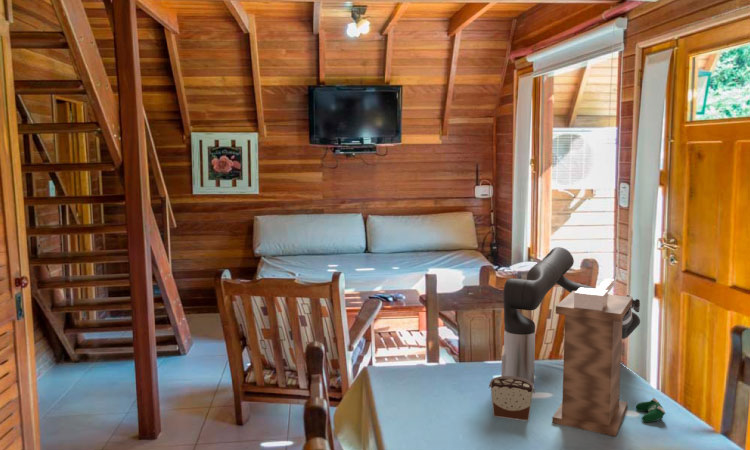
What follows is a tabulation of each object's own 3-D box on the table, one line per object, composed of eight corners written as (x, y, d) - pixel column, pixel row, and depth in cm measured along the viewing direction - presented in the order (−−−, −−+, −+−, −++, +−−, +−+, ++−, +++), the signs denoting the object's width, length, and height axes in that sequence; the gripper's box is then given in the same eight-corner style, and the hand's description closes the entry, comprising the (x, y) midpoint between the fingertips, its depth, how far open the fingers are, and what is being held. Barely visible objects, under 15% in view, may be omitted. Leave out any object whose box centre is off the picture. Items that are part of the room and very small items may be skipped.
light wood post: (573, 307, 157) (574, 292, 157) (597, 284, 184) (597, 271, 184) (602, 311, 154) (602, 295, 153) (621, 286, 181) (622, 273, 180)
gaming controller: (651, 430, 162) (669, 416, 161) (641, 419, 163) (659, 406, 161) (643, 415, 171) (660, 402, 170) (633, 405, 172) (650, 392, 170)
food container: (536, 412, 169) (536, 378, 168) (534, 421, 164) (535, 386, 162) (491, 406, 173) (491, 373, 172) (488, 415, 168) (488, 380, 166)
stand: (552, 422, 163) (555, 306, 159) (569, 396, 180) (573, 290, 176) (615, 436, 155) (621, 314, 151) (627, 407, 172) (632, 297, 168)
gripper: (598, 297, 207) (590, 282, 194) (643, 302, 200) (639, 287, 187) (595, 319, 205) (587, 304, 192) (641, 325, 198) (636, 310, 185)
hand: (613, 296), depth 190 cm, fingers open, 8 cm apart
